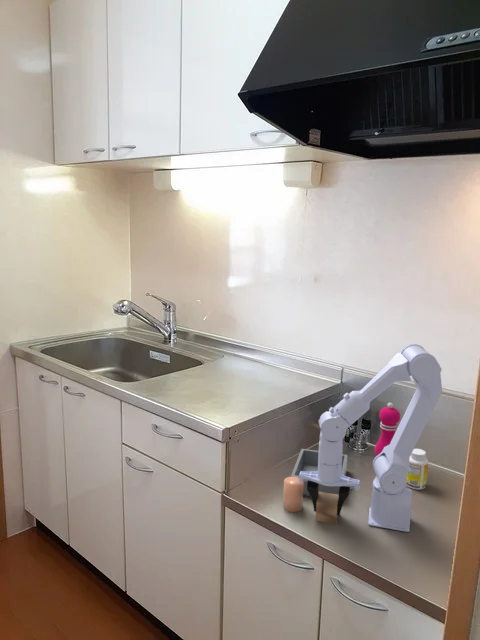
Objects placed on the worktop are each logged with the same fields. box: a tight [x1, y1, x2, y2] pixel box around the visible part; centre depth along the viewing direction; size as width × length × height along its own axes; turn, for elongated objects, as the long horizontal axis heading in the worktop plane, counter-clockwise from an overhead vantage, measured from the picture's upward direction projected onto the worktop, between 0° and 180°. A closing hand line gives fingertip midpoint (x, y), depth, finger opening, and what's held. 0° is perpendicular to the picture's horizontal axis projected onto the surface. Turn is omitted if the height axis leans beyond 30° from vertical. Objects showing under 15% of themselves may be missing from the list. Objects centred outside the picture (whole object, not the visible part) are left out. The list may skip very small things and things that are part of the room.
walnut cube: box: [315, 492, 339, 525], centre depth 125 cm, size 5×5×5 cm
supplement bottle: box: [406, 448, 429, 491], centre depth 140 cm, size 6×6×10 cm
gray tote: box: [290, 448, 348, 497], centre depth 142 cm, size 14×18×5 cm
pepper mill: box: [374, 402, 401, 457], centre depth 151 cm, size 7×7×20 cm
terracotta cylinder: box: [282, 476, 304, 513], centre depth 129 cm, size 5×5×7 cm
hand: (327, 511), depth 125 cm, fingers closed on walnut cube, 5 cm apart
